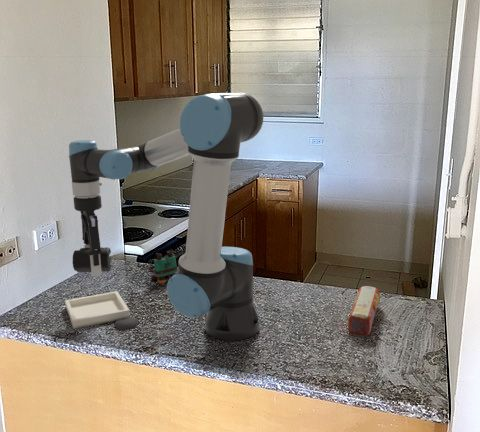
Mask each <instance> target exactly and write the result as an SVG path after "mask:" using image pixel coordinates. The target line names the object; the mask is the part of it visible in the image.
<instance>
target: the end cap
mask: <svg viewBox="0 0 480 432" xmlns="http://www.w3.org/2000/svg"><path fill="white" fill-rule="evenodd" d="M100 247H101V254H100V260H101V271H102V273H105V272H110V270H111V268H112V264H111V263H112V257H111V256H110V255H111V253H112V251H111V247H102V246H100ZM88 253H90V248H84V247H81V248H80V249H78V250H74V251H73V254H72V268H73V269H74V271H75V272H77V273H91V262H90V256H88Z"/></svg>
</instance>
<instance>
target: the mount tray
mask: <svg viewBox="0 0 480 432" xmlns="http://www.w3.org/2000/svg"><path fill="white" fill-rule="evenodd" d="M64 302H65V303H64V304H65V310H66V312H67V314H68V318H69V320H70V323H71V325H72V328H73V330H74V329H80V328H85V327H89V326H94V325H99V324H104V323H110V322H114V321H115V322H116V321H117V320H119V319H122V318H131V313H130V312H131V311H130V308H129V307H128V305H127V304H126V303H125V301H124V300H123V298H122V297H121V295H120V293H119V292H118V291H117V290H116V291H110V292H104V293H100V294H93V295H89V296H88V295H87V296H83V297H76V298H73V299H65V300H64Z"/></svg>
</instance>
